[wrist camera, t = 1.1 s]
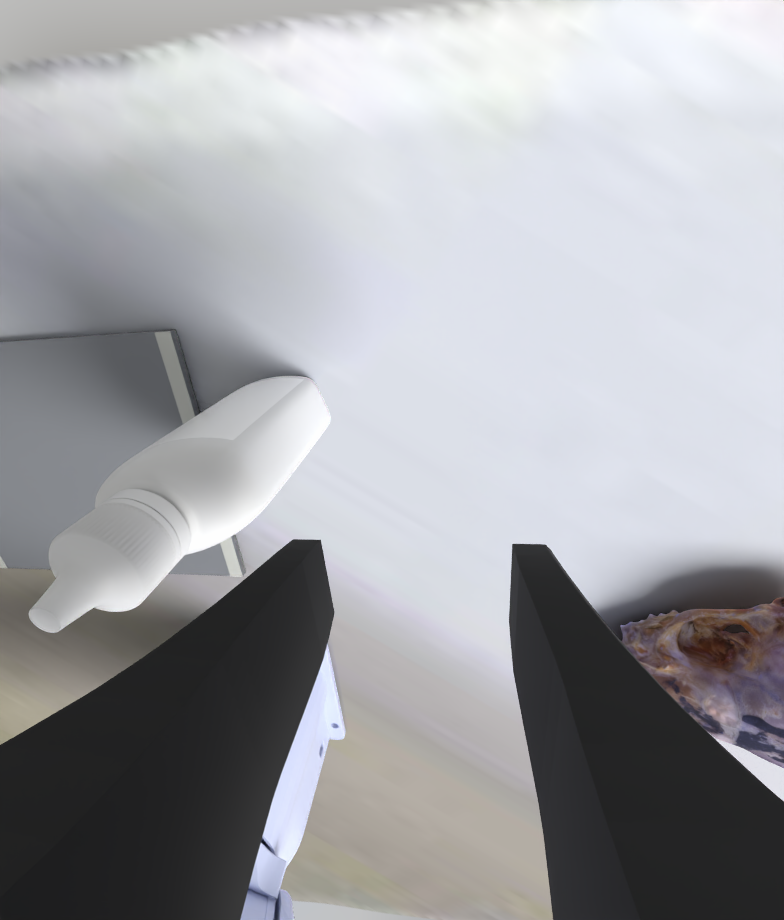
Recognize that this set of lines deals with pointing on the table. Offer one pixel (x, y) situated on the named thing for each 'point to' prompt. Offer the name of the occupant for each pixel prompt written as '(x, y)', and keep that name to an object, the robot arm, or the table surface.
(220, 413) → the eye dropper bottle
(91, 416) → the mat
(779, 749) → the skull
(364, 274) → the table surface
